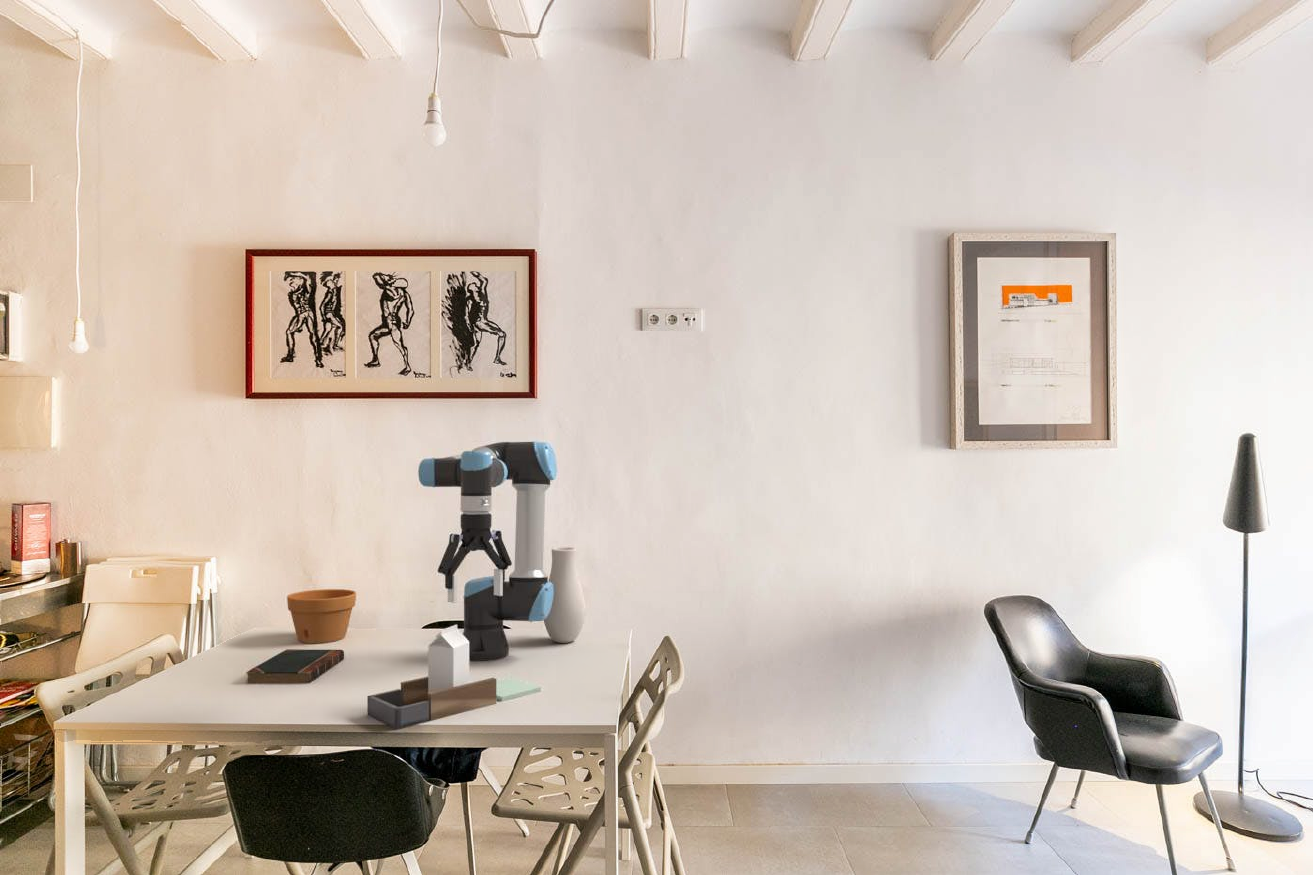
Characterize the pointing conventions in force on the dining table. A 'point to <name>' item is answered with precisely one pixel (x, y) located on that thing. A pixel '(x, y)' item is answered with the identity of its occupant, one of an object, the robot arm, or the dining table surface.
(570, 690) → the dining table surface
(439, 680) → the milk carton
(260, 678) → the book
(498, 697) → the pad
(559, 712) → the dining table surface
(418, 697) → the channel
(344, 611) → the flower pot
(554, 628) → the vase
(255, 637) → the dining table surface
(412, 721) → the bin
